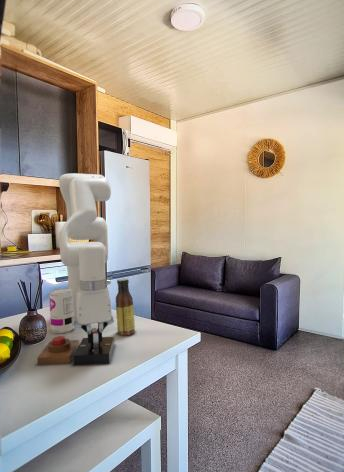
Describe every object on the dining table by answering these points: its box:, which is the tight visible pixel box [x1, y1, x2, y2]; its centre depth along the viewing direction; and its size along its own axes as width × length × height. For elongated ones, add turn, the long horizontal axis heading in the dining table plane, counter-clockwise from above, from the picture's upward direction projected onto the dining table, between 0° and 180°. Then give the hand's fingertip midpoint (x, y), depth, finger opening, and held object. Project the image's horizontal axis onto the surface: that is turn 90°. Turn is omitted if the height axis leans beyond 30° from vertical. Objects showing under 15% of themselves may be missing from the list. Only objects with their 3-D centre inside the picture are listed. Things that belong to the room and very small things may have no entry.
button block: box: [36, 338, 80, 366], centre depth 94 cm, size 12×9×4 cm
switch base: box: [73, 336, 115, 366], centre depth 94 cm, size 13×10×3 cm
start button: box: [52, 335, 66, 345], centre depth 94 cm, size 4×4×2 cm
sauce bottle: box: [115, 277, 136, 336], centre depth 111 cm, size 7×6×20 cm
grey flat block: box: [91, 327, 99, 348], centre depth 93 cm, size 5×2×5 cm, turn 21°
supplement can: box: [48, 288, 75, 334], centre depth 115 cm, size 8×8×15 cm
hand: (95, 344), depth 94 cm, fingers closed, pressing on grey flat block
